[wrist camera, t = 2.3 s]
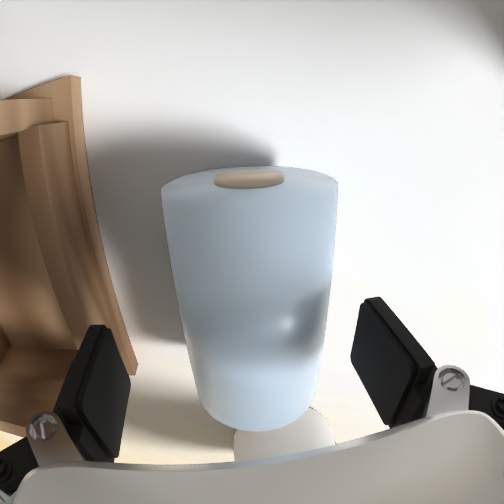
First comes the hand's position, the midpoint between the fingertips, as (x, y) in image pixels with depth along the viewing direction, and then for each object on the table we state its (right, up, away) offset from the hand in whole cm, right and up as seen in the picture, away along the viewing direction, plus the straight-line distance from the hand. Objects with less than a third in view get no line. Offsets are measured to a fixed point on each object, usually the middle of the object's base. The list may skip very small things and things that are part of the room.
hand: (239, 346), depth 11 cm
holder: (-12, +3, +3) cm, 13 cm away
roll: (0, +3, +4) cm, 5 cm away
